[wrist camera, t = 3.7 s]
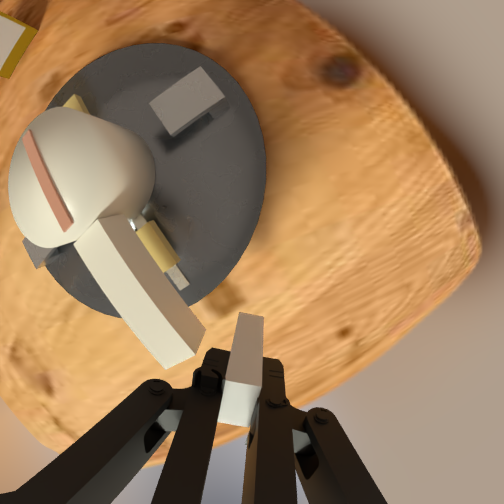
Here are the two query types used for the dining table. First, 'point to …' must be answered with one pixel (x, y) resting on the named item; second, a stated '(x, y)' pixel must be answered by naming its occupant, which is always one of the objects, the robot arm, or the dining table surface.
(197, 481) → the robot arm
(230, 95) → the post base
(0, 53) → the soap bottle
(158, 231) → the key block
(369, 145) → the dining table surface
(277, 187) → the dining table surface
